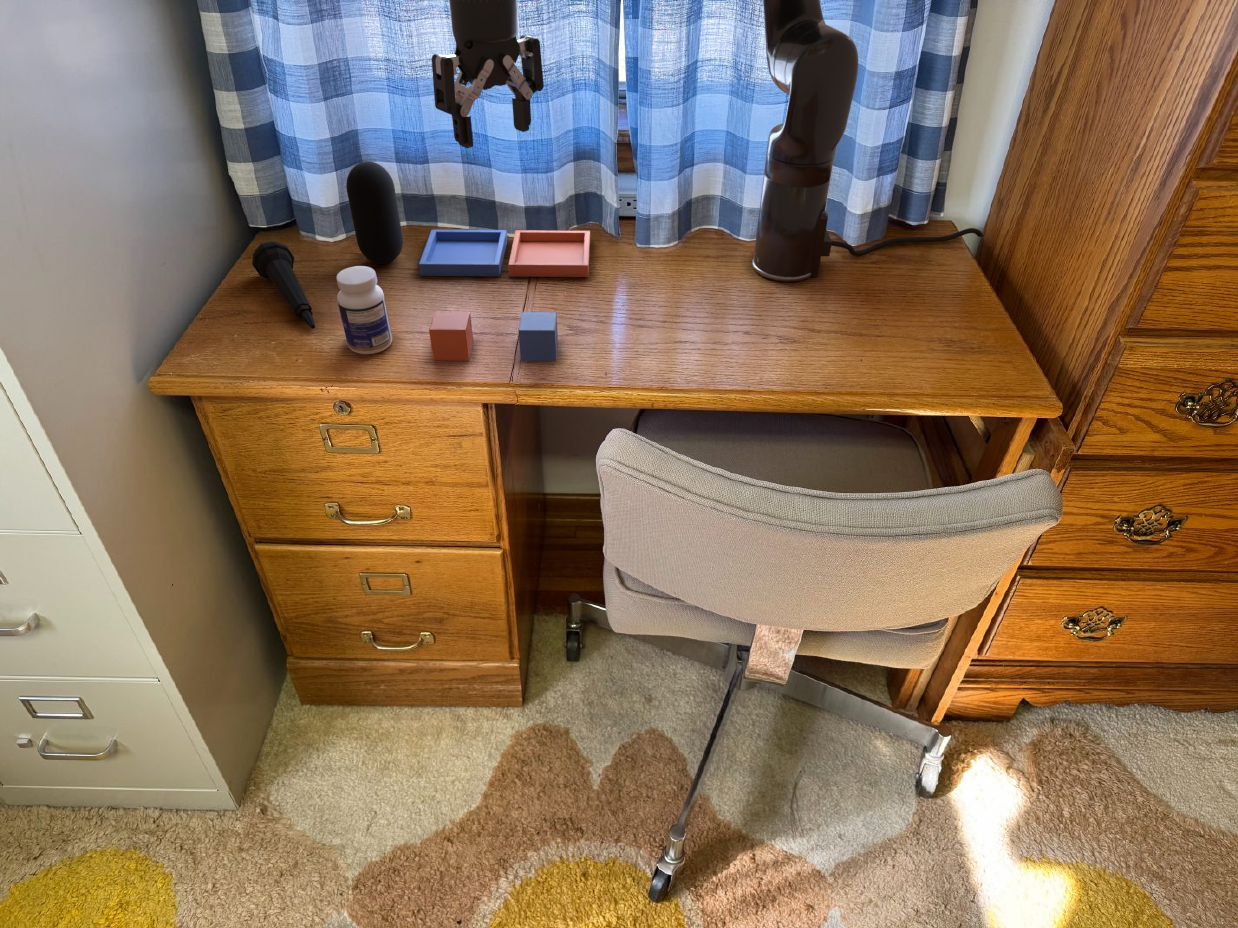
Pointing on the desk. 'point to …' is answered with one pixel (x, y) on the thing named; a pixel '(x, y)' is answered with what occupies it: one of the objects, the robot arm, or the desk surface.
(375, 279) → the pill bottle
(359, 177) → the decorative object
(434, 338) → the terracotta cube
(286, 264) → the microphone
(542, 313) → the blue cube
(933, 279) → the desk surface
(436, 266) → the blue tray
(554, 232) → the terracotta tray
